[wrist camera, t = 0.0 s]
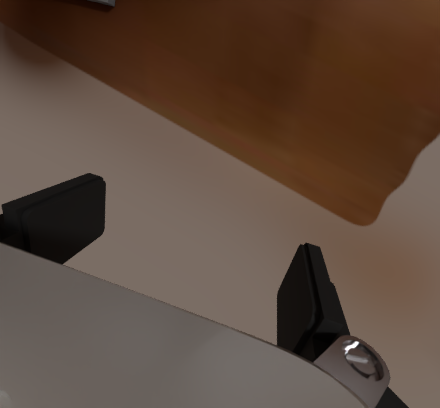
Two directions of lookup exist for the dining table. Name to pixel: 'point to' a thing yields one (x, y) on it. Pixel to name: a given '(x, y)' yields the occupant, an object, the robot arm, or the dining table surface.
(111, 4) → the board
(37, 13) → the dining table surface
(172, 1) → the dining table surface
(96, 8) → the dining table surface
